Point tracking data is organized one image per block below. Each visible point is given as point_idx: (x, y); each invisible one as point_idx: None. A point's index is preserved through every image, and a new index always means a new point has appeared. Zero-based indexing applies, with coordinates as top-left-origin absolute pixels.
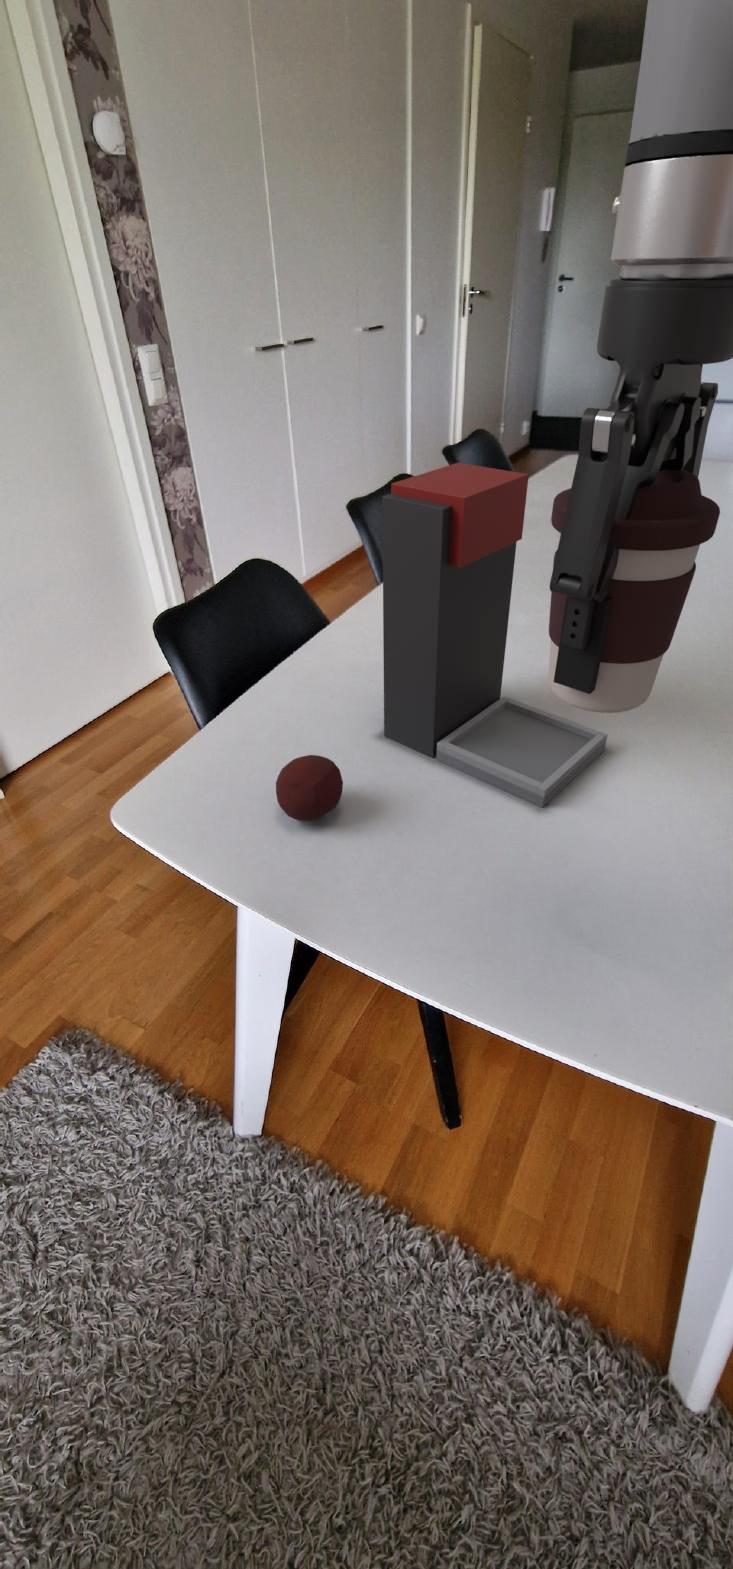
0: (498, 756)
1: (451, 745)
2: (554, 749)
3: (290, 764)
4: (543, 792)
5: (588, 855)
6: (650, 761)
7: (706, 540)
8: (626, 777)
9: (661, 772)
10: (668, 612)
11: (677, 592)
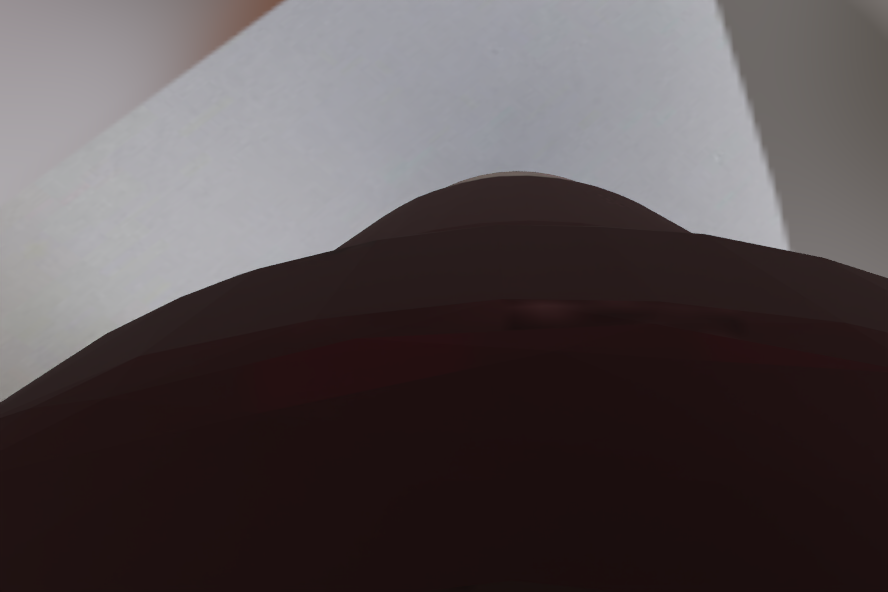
0: None
1: None
2: None
3: None
4: None
5: (354, 228)
6: (67, 317)
7: (443, 232)
8: (140, 316)
9: (75, 286)
10: (578, 199)
11: (563, 211)
